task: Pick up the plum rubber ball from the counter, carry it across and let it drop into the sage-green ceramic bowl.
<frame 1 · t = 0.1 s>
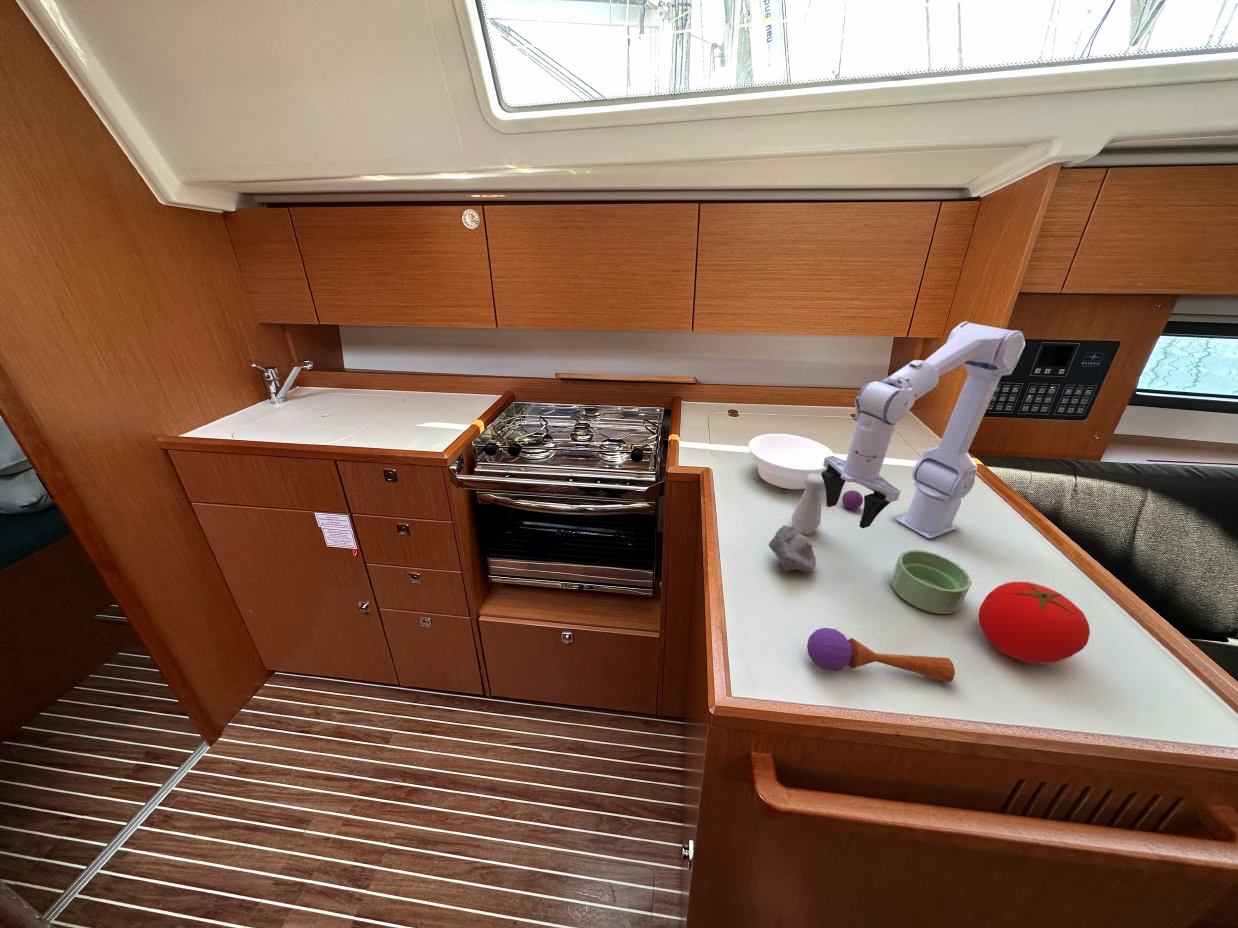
hand: (847, 515, 89), 10 cm above the worktop, tool pointing down, fingers open, 7 cm apart
grey rock: (788, 566, 91), on the worktop
salt shaker: (803, 529, 102), on the worktop
green bowl: (923, 593, 85), on the worktop
bowl: (784, 479, 122), on the worktop
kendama: (872, 669, 70), on the worktop
tomato: (1014, 646, 75), on the worktop
ball: (852, 499, 109), point 2 cm above the worktop
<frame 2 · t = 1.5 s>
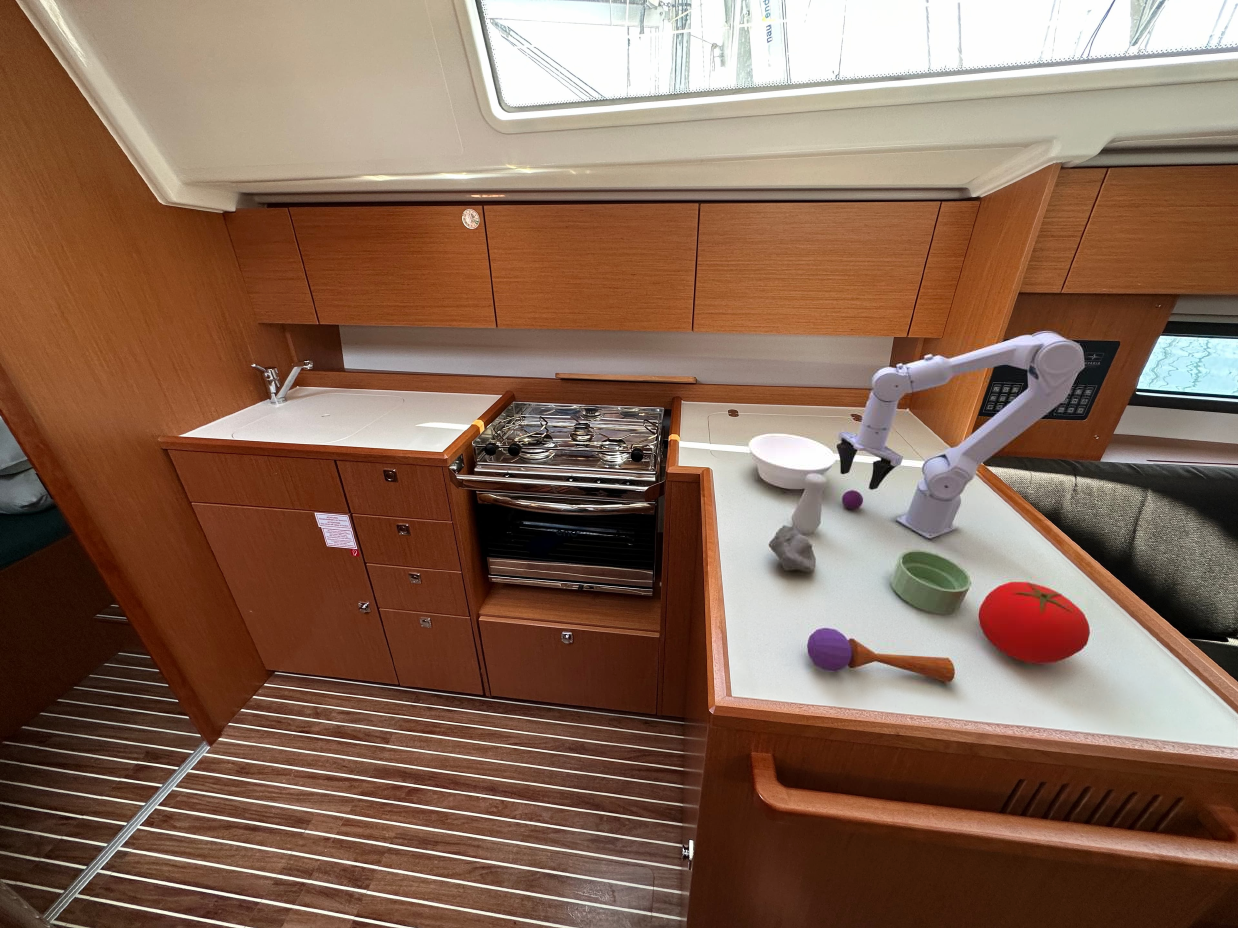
hand: (858, 480, 106), 8 cm above the worktop, tool pointing down, fingers open, 7 cm apart
nothing on the worktop moved.
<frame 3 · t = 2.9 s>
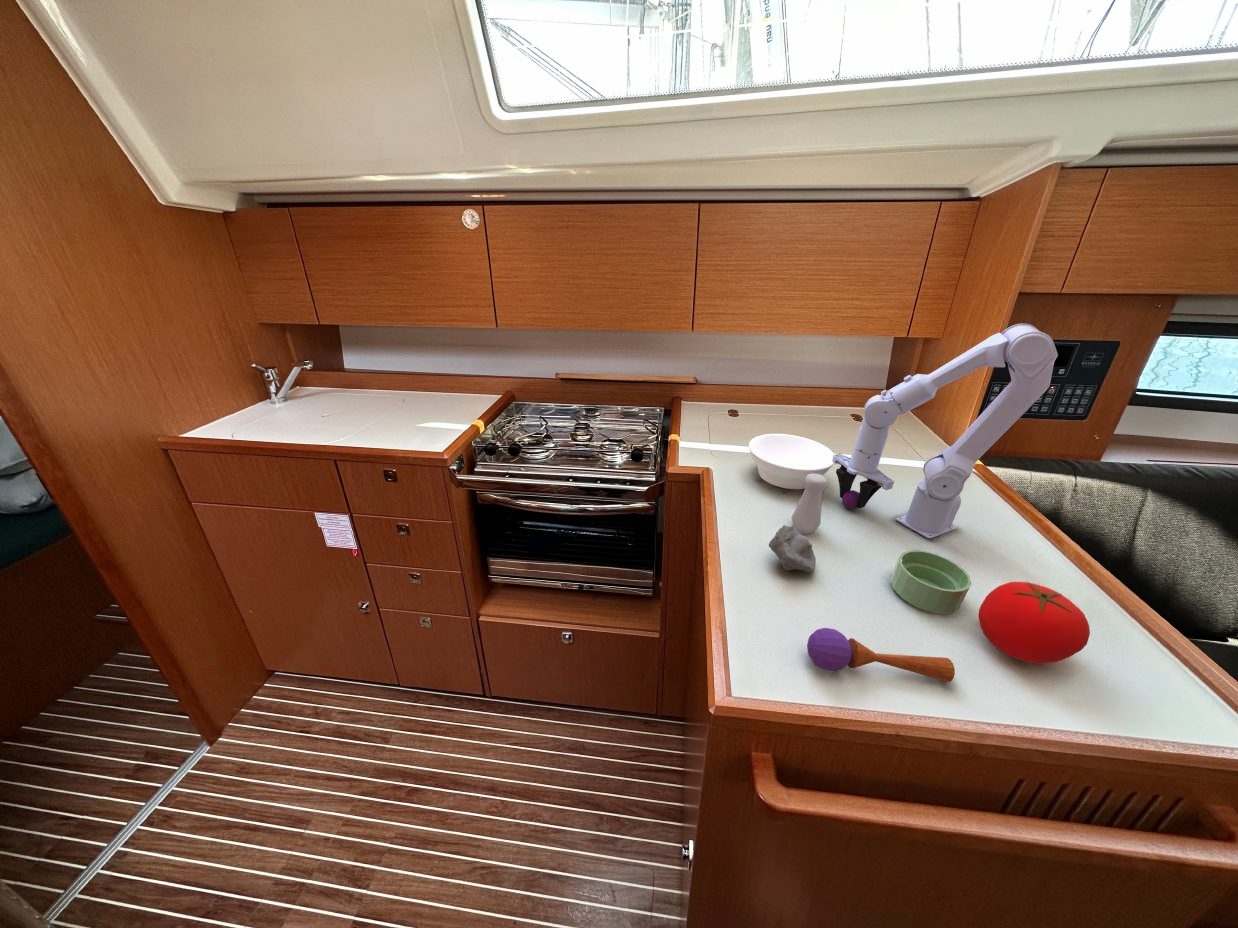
hand: (851, 501, 110), 2 cm above the worktop, tool pointing down, fingers closed on ball, 4 cm apart
ball: (852, 499, 109), point 2 cm above the worktop, touching gripper
everything else where it was.
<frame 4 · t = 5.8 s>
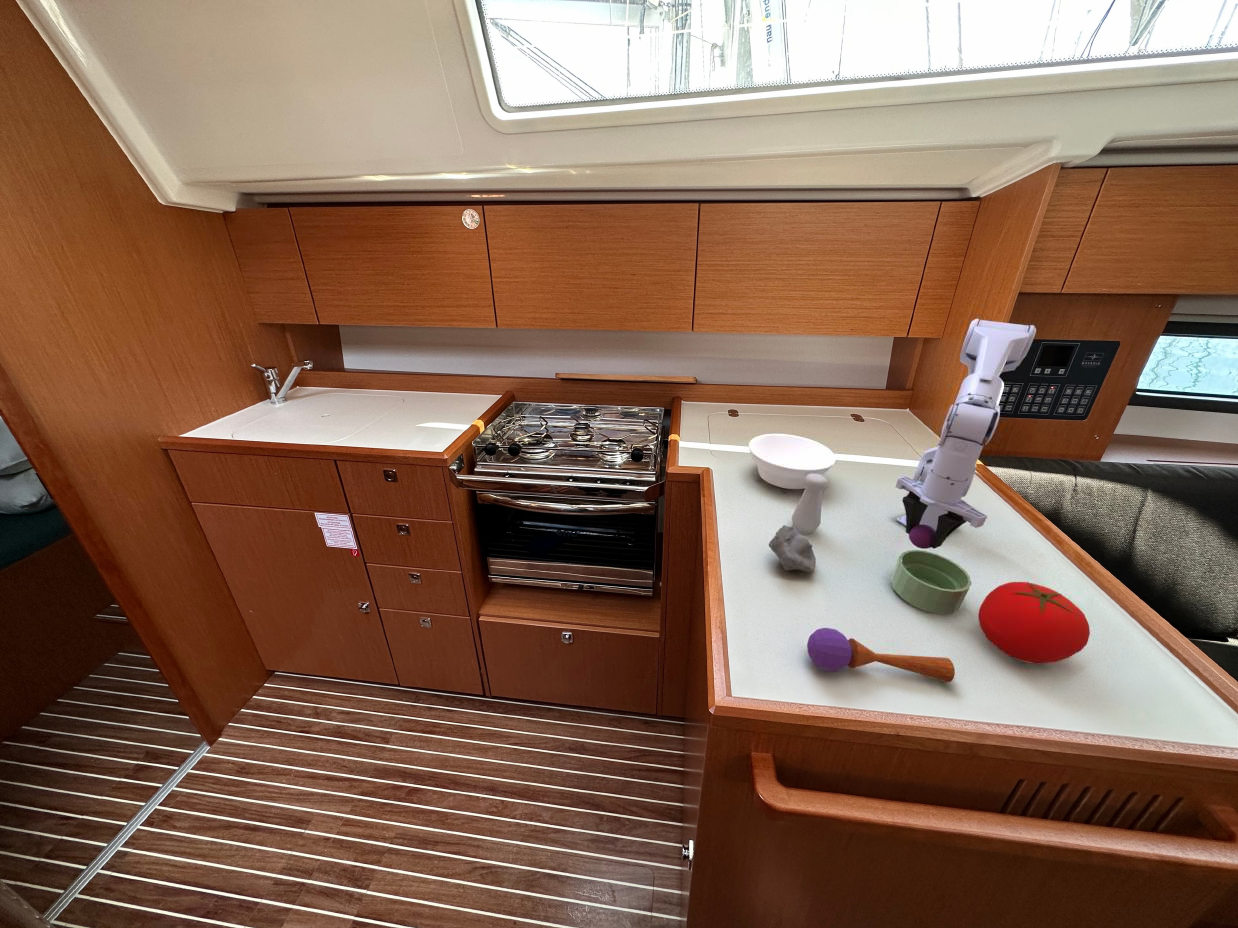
hand: (922, 538, 85), 8 cm above the worktop, tool pointing down, fingers closed on ball, 4 cm apart
ball: (923, 536, 85), point 9 cm above the worktop, touching gripper
everything else where it was.
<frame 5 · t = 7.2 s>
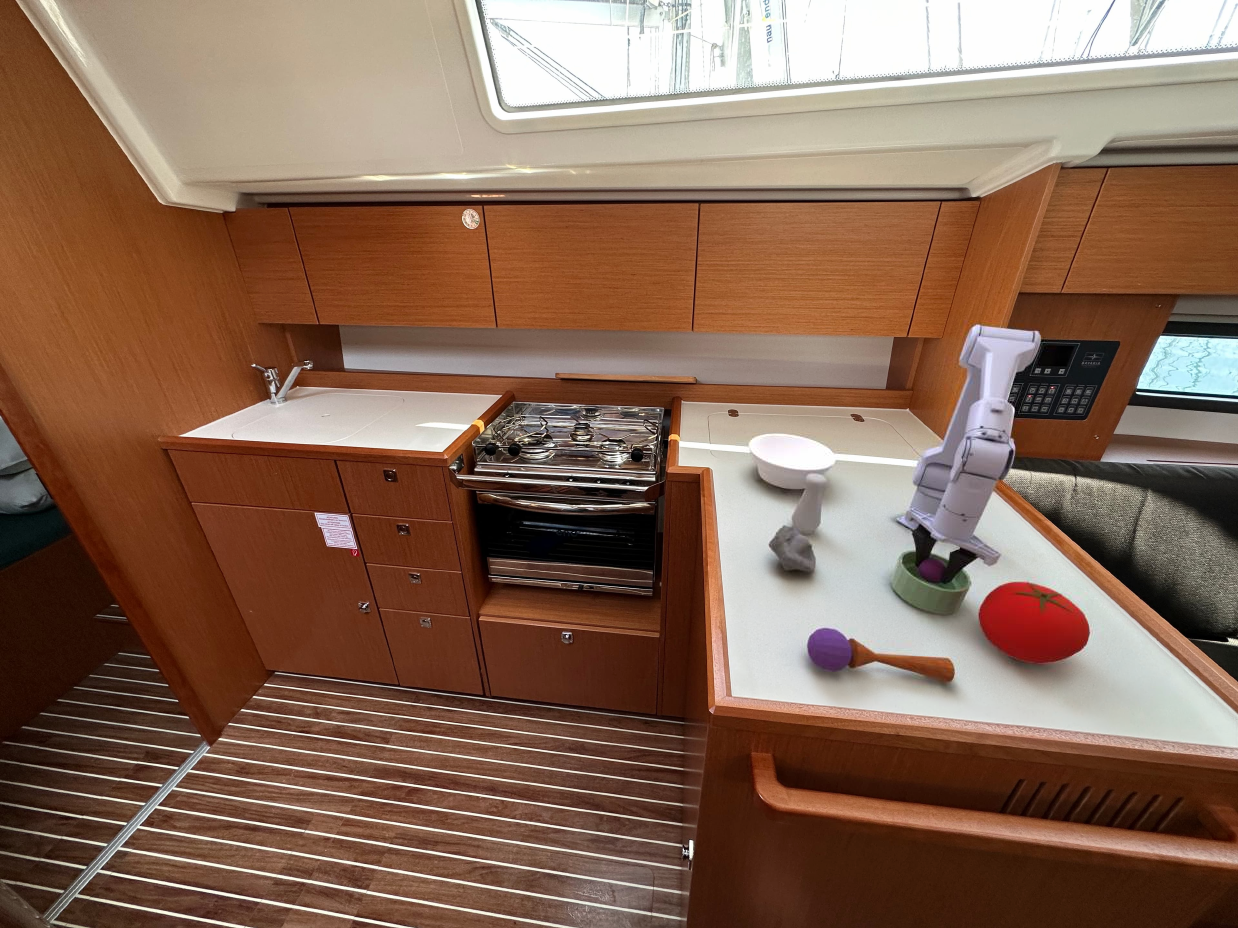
hand: (932, 573, 83), 5 cm above the worktop, tool pointing down, fingers closed on ball, 4 cm apart
ball: (933, 570, 82), point 5 cm above the worktop, touching gripper
everything else where it was.
when the fingers open (2 cm above the worktop, at t = 8.5 s): ball stays where it is, resting on green bowl.
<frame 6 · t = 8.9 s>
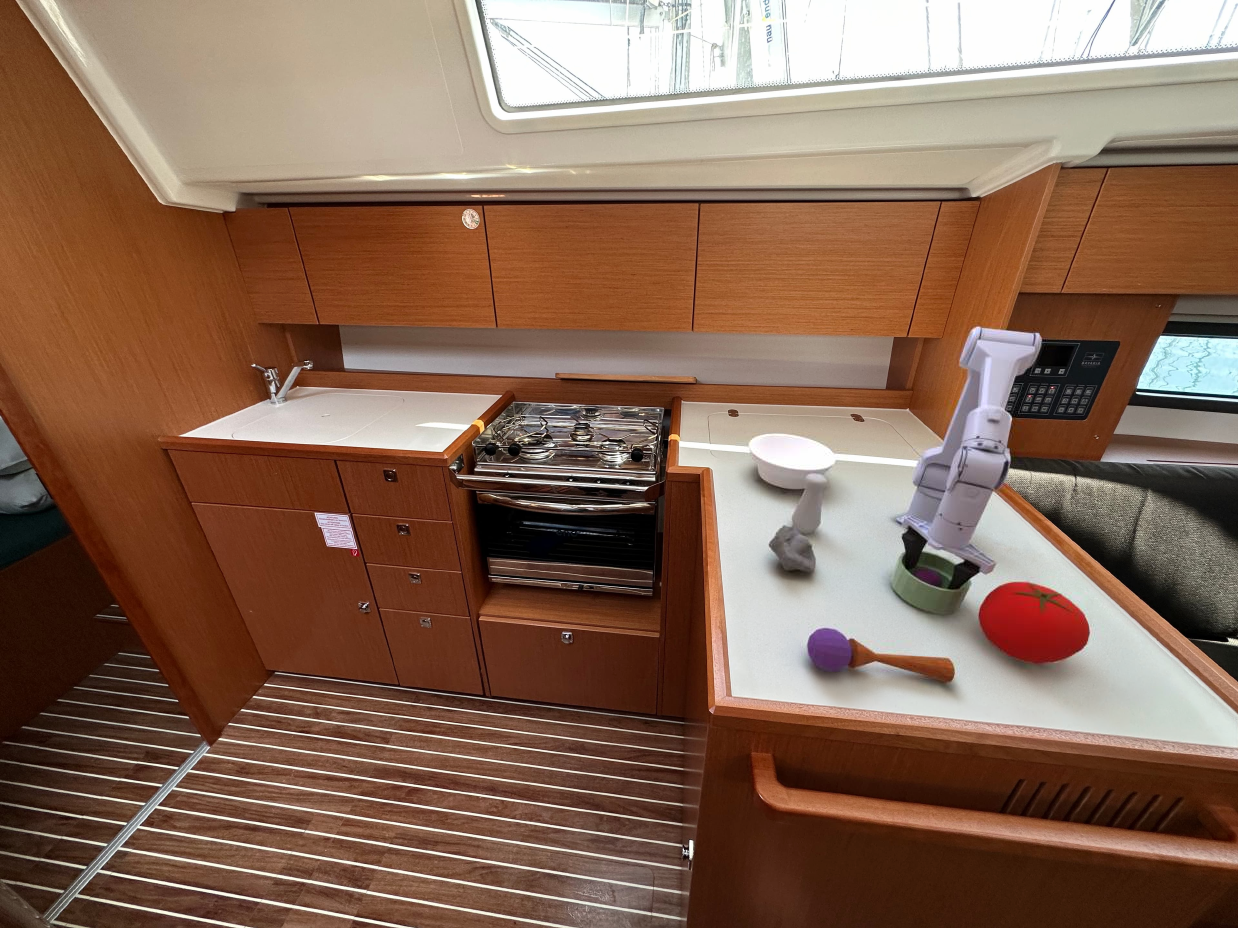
hand: (929, 580, 84), 3 cm above the worktop, tool pointing down, fingers open, 7 cm apart
ball: (926, 580, 84), point 3 cm above the worktop, tilted 10°, touching green bowl
everything else where it was.
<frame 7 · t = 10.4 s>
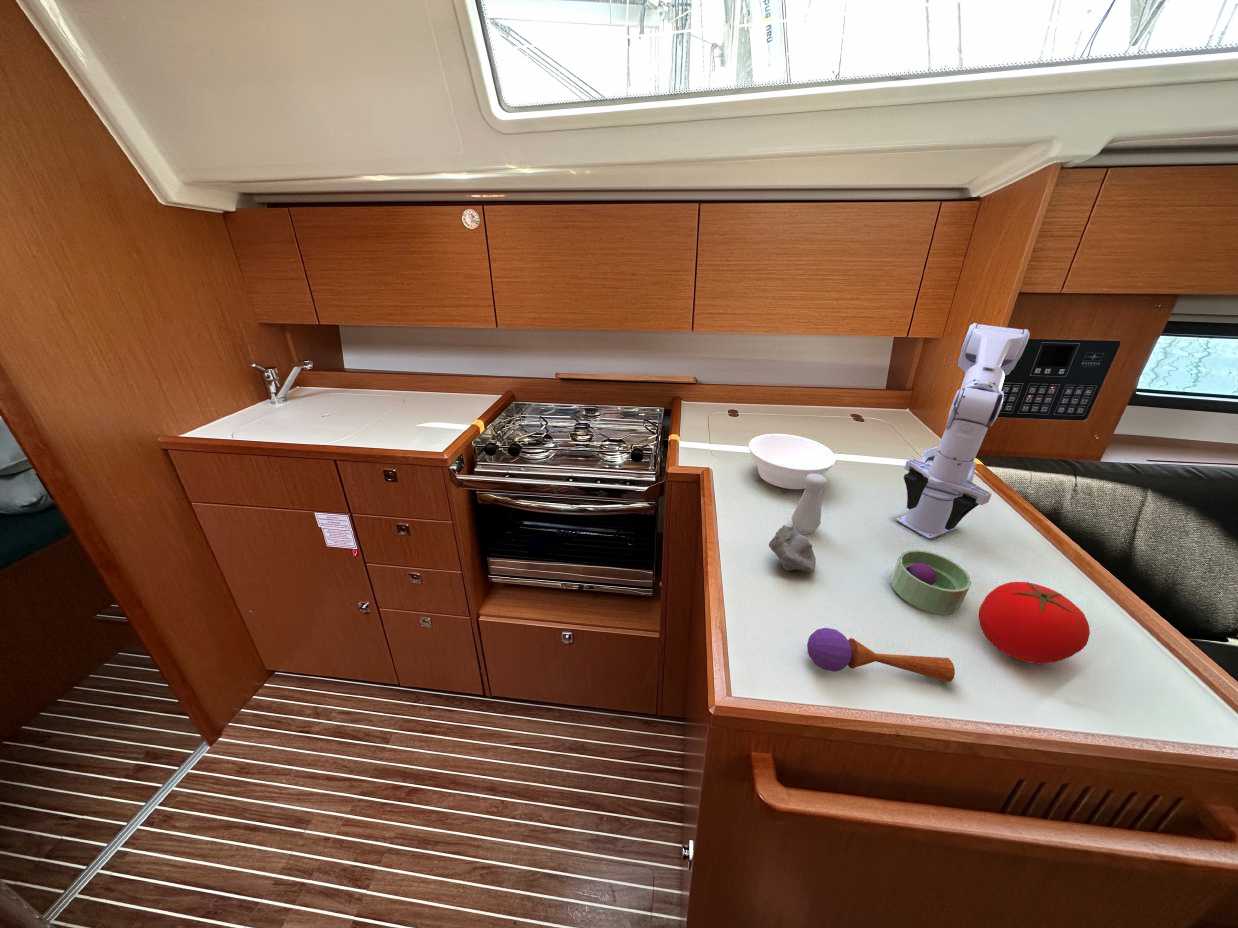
hand: (929, 517, 90), 9 cm above the worktop, tool pointing down, fingers open, 7 cm apart
ball: (921, 575, 85), point 3 cm above the worktop, tilted 46°, touching green bowl
everything else where it was.
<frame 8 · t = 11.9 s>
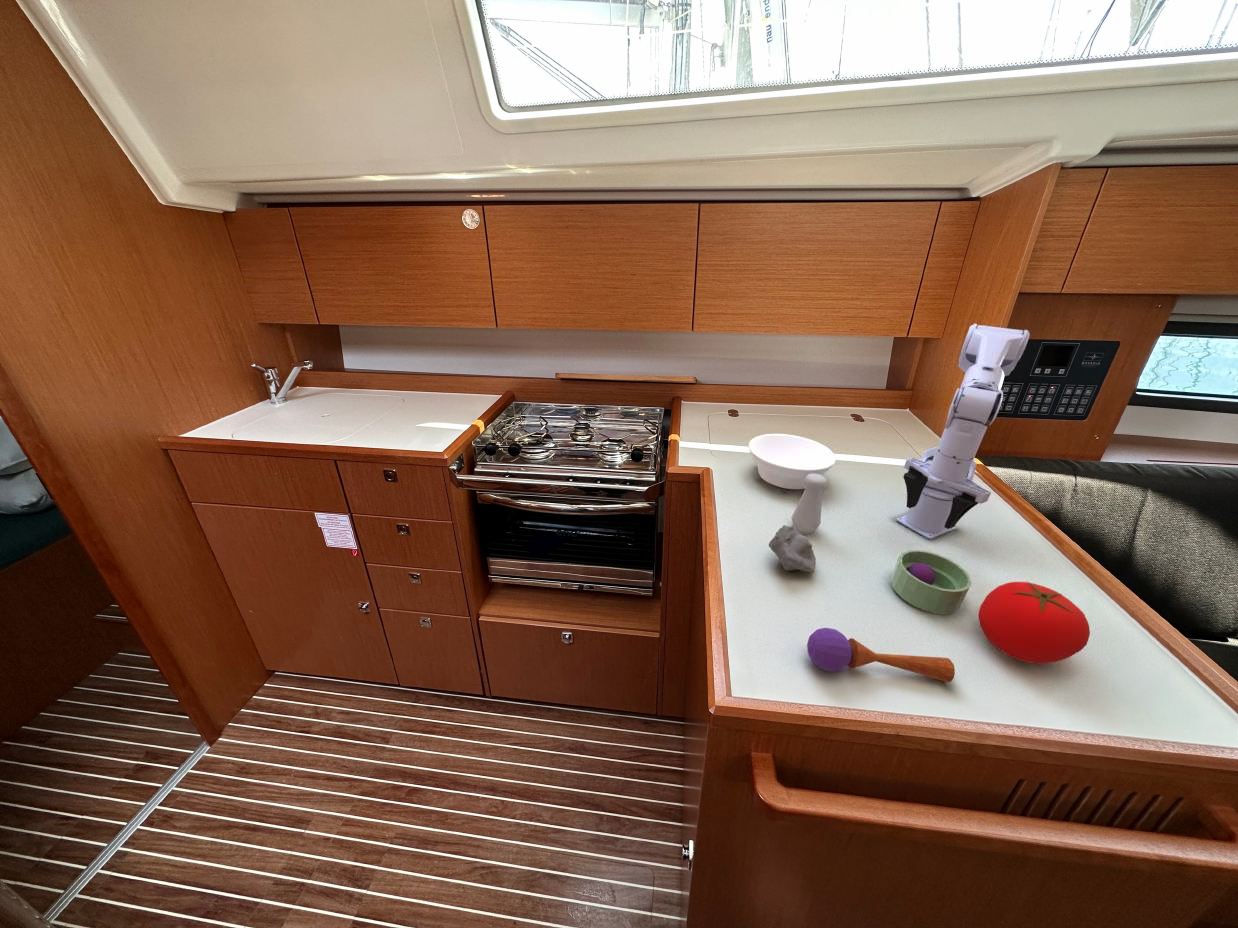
hand: (929, 516, 91), 9 cm above the worktop, tool pointing down, fingers open, 7 cm apart
nothing on the worktop moved.
at the end: ball inside the target area in the green bowl (1.8 cm from its centre), point 2.7 cm above the green bowl's base; the gripper is holding nothing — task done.
